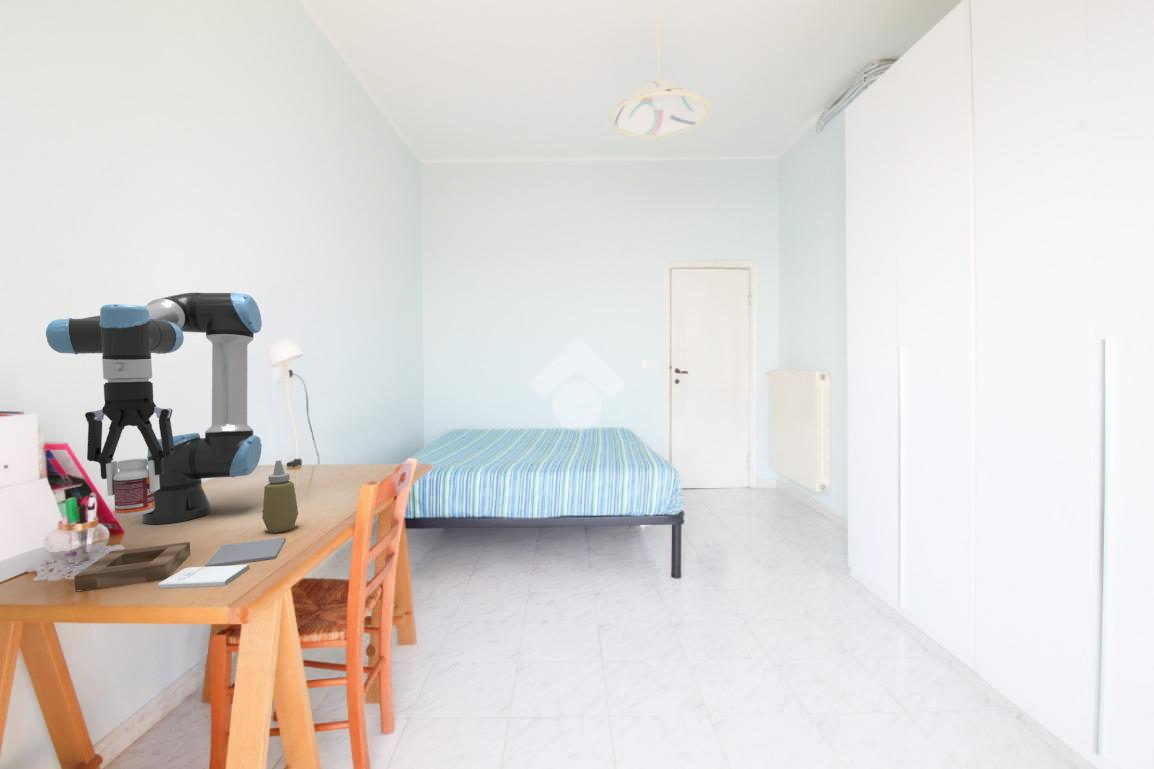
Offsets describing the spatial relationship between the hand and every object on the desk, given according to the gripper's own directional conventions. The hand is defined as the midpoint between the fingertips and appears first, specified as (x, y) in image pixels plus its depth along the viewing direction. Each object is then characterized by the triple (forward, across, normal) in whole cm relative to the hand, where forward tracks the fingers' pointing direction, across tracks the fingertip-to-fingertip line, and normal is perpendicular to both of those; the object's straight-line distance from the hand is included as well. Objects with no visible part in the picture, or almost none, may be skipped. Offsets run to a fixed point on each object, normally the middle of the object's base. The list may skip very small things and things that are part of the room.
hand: (134, 492), depth 104 cm
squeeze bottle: (+17, +23, +19) cm, 34 cm away
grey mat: (+17, +19, +3) cm, 25 cm away
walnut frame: (+17, 0, 0) cm, 17 cm away
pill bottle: (+5, 0, 0) cm, 5 cm away
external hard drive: (+18, +14, -10) cm, 25 cm away
